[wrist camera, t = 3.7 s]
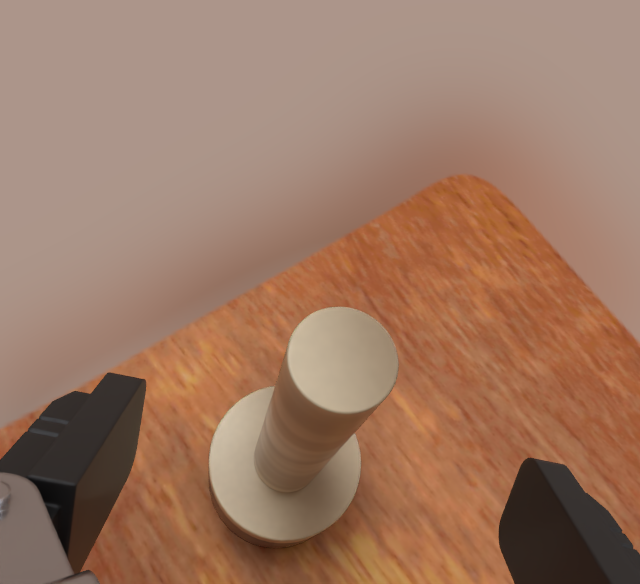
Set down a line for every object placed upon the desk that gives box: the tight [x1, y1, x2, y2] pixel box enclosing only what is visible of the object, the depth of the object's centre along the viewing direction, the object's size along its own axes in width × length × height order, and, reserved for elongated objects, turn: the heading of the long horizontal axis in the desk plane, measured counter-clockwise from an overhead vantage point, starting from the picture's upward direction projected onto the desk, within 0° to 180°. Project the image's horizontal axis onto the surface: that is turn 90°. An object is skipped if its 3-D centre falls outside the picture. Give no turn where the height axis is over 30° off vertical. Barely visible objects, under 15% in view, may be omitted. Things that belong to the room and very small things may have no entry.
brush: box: [209, 307, 399, 548], centre depth 19 cm, size 6×6×14 cm
